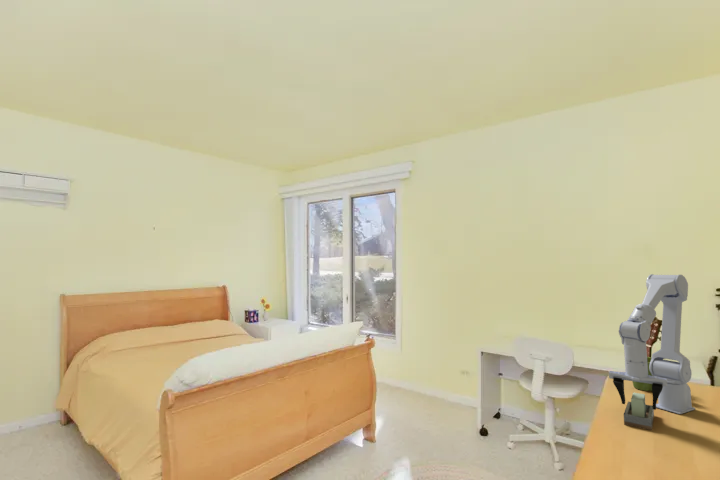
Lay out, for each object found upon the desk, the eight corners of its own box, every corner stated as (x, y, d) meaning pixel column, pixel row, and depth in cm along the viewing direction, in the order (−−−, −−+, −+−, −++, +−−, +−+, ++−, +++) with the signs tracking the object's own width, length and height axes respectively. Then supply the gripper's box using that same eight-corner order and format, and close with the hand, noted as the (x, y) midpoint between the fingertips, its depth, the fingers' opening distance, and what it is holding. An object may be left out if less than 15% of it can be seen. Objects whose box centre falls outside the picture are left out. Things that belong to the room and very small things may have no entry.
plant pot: (666, 395, 140) (664, 364, 141) (627, 390, 146) (625, 360, 147) (663, 387, 150) (661, 357, 150) (626, 382, 156) (624, 354, 157)
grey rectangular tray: (628, 410, 126) (628, 401, 126) (654, 415, 121) (653, 405, 122) (624, 424, 115) (623, 414, 115) (651, 430, 111) (651, 419, 111)
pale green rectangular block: (634, 411, 122) (633, 392, 123) (646, 413, 120) (644, 394, 121) (632, 419, 116) (631, 399, 116) (644, 422, 114) (643, 401, 114)
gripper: (606, 359, 121) (609, 404, 120) (665, 367, 112) (668, 415, 111) (609, 355, 126) (611, 398, 125) (665, 362, 117) (669, 408, 116)
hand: (638, 405), depth 118 cm, fingers open, 7 cm apart
